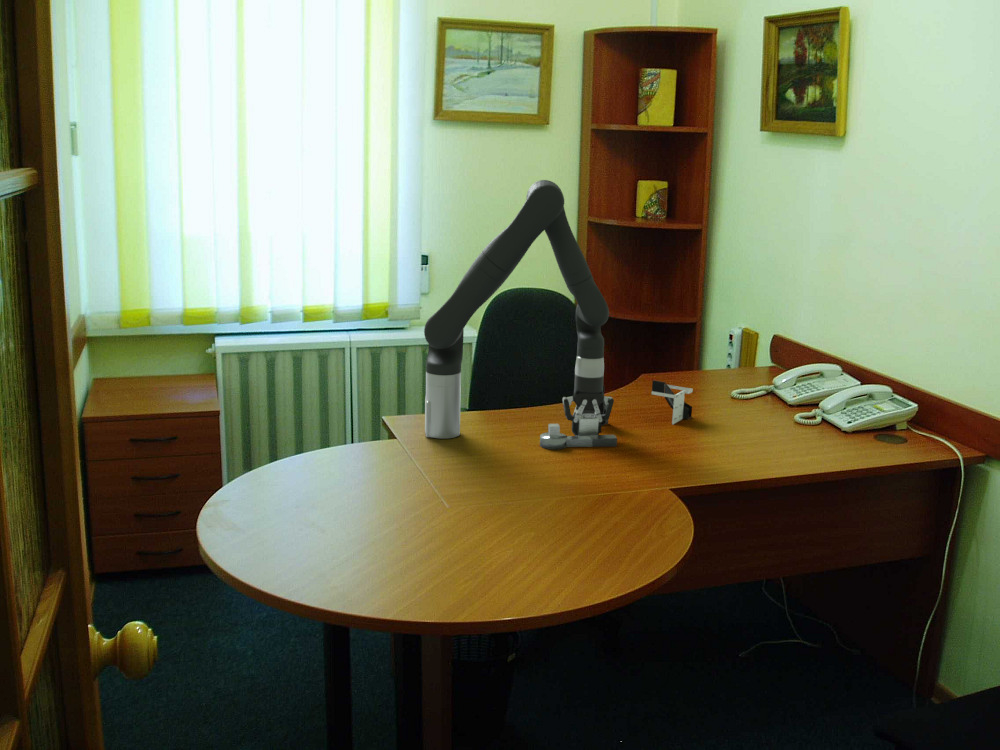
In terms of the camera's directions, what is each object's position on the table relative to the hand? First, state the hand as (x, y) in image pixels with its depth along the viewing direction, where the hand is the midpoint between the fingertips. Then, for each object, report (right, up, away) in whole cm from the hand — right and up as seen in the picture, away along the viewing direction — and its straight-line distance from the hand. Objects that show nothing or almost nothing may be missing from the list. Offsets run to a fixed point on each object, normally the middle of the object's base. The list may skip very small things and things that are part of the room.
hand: (586, 434), depth 255 cm
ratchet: (-3, -2, -6) cm, 7 cm away
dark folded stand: (+2, +2, +12) cm, 13 cm away
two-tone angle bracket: (+26, +3, +20) cm, 33 cm away
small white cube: (0, -1, 0) cm, 1 cm away
